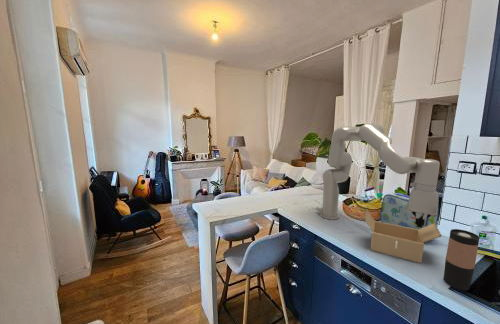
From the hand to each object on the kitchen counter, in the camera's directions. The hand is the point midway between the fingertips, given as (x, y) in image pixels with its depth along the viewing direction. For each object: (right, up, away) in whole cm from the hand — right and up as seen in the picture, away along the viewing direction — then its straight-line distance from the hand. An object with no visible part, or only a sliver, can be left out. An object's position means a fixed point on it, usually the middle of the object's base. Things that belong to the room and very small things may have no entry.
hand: (419, 226), depth 97 cm
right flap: (+3, -2, -2) cm, 4 cm away
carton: (-8, -13, +5) cm, 16 cm away
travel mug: (0, -17, -17) cm, 24 cm away
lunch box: (+11, -10, +23) cm, 28 cm away
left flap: (-17, +1, +10) cm, 20 cm away
